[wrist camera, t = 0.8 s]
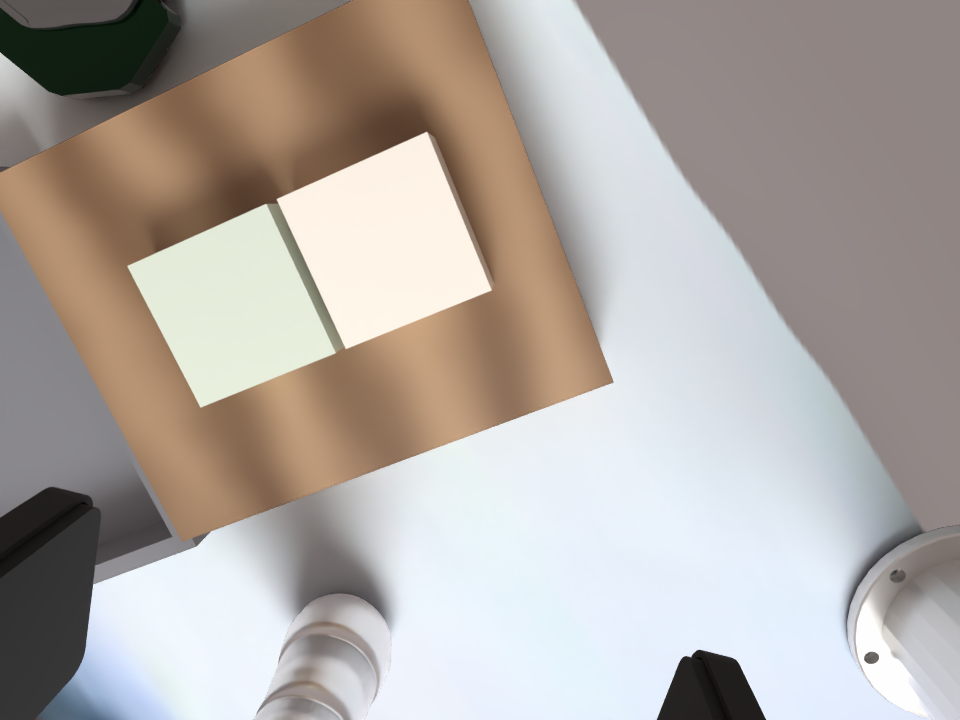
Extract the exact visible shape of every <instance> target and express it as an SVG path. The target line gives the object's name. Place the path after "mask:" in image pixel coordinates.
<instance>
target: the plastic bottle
mask: <svg viewBox="0 0 960 720" xmlns="http://www.w3.org/2000/svg"><path fill="white" fill-rule="evenodd" d="M391 648H392V643H391V634H390V631H389V628H388V626H387V624H386V621H385V620H384V618H383V617H382V616H381V614H380V613H379V612H378V611H377V609H376V608H374V607H373V606H372V605H371V604H370V603H368V602H367V601H365V600H364V599H362V598H359V597H357V596H354V595H350V594H330V595H325V596H322V597H319V598H317V599H315V600H313V601H312V602H310V603H309V604H308V605H307V606H306V607H305V608H304V609H303V610H302V611H301V612H300V613H299V614H298V615H297V617H296V618H295V619H294V620H293V622H292V623H291V625H290V626H289V628H288V631H287V634H286V636H285V639H284V643H283V646H282V649H281V652H280V657H279V663H278V667H277V669H276V672H275V674H274V677H273V680H272V682H271V685H270V687H269V690H268V692H267V695H266V697H265V700H264V701H263V703H262V705H261V707H260V708H259V710H258V712H257V714H256V716H255V717H254V719H253V720H365V718H366V716H367V713H368V711H369V708H370V706H371V704H372V702H373V701H374V699H375V698H376V696H377V695H378V693H379V691H380V689H381V687H382V685H383V683H384V681H385V679H386V676H387V674H388V672H389V669H390V663H391Z"/></svg>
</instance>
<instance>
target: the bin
mask: <svg viewBox="0 0 960 720" xmlns="http://www.w3.org/2000/svg"><path fill="white" fill-rule="evenodd" d="M9 168H11V167H0V172H2V171H4V170H7V169H9ZM48 487H57V488H61V489H65V490H69V491H73V492H77V493H81V494H85V495H89V496H90V497H91V498H92V501H93V507H97V508H98V509H100V512H101V522H100V530H99V539H98V547H97V555H96V564H95V572H94V580H93V584H96V583H98V582H101V581H104V580H107V579H109V578H112V577H115V576H117V575H120V574H123V573H126V572H128V571H131V570H134V569H136V568H139V567H142V566H145V565H147V564H150V563H153V562H156V561H158V560H161V559H164V558H166V557H169V556H172V555H175V554H177V553H180V552H183V551H186V550H188V549H191V548H194V547H196V546H197V545H198V544H199V543H200V542H201V541H202V540H203V539H204V538H205V537H206V536H207V535H208V534H209V533H210V532H211V531H210V532H207V533H205V534H202V535H199V536H197V537H194V538H191V539H188V540H186V541H183V542H182V541H181V539H180V537H179V535H178V533H177V531H176V530H175V528H174V526H173V524H172V522H171V521H170V519H169V517H168V515H167V513H166V511H165V510H164V508H163V506H162V504H161V502H160V500H159V499H158V497H157V495H156V493H155V491H154V490H153V488H152V486H151V484H150V482H149V480H148V479H147V477H146V475H145V473H144V471H143V470H142V468H141V466H140V464H139V462H138V460H137V459H136V457H135V455H134V453H133V451H132V449H131V448H130V446H129V444H128V442H127V440H126V439H125V437H124V435H123V433H122V431H121V429H120V428H119V426H118V424H117V422H116V420H115V419H114V417H113V415H112V413H111V411H110V409H109V408H108V406H107V404H106V402H105V400H104V398H103V397H102V395H101V393H100V391H99V389H98V388H97V386H96V384H95V382H94V380H93V378H92V377H91V375H90V373H89V371H88V369H87V368H86V366H85V364H84V362H83V360H82V358H81V357H80V355H79V353H78V351H77V349H76V347H75V346H74V344H73V342H72V340H71V338H70V337H69V335H68V333H67V331H66V329H65V327H64V326H63V324H62V322H61V320H60V318H59V317H58V315H57V313H56V311H55V309H54V307H53V306H52V304H51V302H50V300H49V298H48V296H47V295H46V293H45V291H44V289H43V287H42V286H41V284H40V282H39V280H38V278H37V276H36V275H35V273H34V271H33V269H32V267H31V266H30V264H29V262H28V260H27V258H26V256H25V255H24V253H23V251H22V249H21V247H20V245H19V244H18V242H17V240H16V238H15V236H14V235H13V233H12V231H11V229H10V227H9V225H8V224H7V222H6V220H5V218H4V216H3V215H2V213H1V211H0V517H2V516H3V515H5V514H6V513H8V512H10V511H11V510H13V509H14V508H16V507H17V506H19V505H20V504H22V503H24V502H25V501H27V500H28V499H30V498H31V497H33V496H35V495H36V494H38V493H39V492H41V491H42V490H44V489H46V488H48Z"/></svg>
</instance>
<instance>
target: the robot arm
mask: <svg viewBox="0 0 960 720" xmlns="http://www.w3.org/2000/svg"><path fill="white" fill-rule="evenodd" d="M100 522H101V512H100V509H98V508H97V507H93V501H92V498H91V497H90V496H89V495H85V494H81V493H77V492H73V491H69V490H65V489H61V488H57V487H48V488H46V489H44V490H42V491H41V492H39V493H38V494H36V495H35V496H33V497H31V498H30V499H28V500H27V501H25V502H24V503H22V504H20V505H19V506H17V507H16V508H14V509H13V510H11V511H10V512H8V513H6V514H5V515H3V516H2V517H0V720H34V719H35V718H36V717H37V716H38V715H39V714H40V713H41V712H42V711H43V709H44V708H45V707H46V706H47V705H48V704H49V703H50V702H51V701H52V699H53V698H54V697H55V696H56V695H57V694H58V693H59V692H60V691H61V690H62V688H63V687H64V686H65V685H66V684H67V683H68V682H69V681H70V680H71V678H72V677H73V676H74V674H75V673H76V671H77V670H78V668H79V666H80V664H81V662H82V659H83V657H84V653H85V647H86V638H87V630H88V622H89V613H90V605H91V597H92V589H93V580H94V572H95V564H96V555H97V547H98V539H99V530H100ZM847 630H848V642H849V646H850V649H851V653H852V656H853V658H854V660H855V662H856V664H857V666H858V667H859V669H860V671H861V672H862V674H863V675H864V676H865V678H866V679H867V680H868V682H869V683H870V684H871V686H872V687H873V688H874V689H875V690H876V691H877V692H878V693H879V694H880V695H882V696H883V697H884V698H885V699H886V700H888V701H889V702H891V703H893V704H894V705H896V706H897V707H899V708H901V709H903V710H906V711H908V712H911V713H913V714H916V715H919V716H923V717H927V718H931V720H960V525H955V526H948V527H942V528H938V529H935V530H932V531H929V532H925V533H922V534H919V535H917V536H915V537H913V538H911V539H909V540H907V541H905V542H903V543H901V544H900V545H898V546H897V547H896V548H894V549H893V550H891V551H890V552H889V553H887V554H886V555H884V556H883V557H882V558H881V559H880V560H879V561H878V562H877V563H876V564H875V565H874V566H873V567H872V568H871V569H870V570H869V572H868V573H867V574H866V576H865V577H864V579H863V580H862V582H861V583H860V585H859V586H858V588H857V590H856V593H855V595H854V598H853V600H852V602H851V605H850V610H849V615H848V621H847ZM657 720H766V719H765V717H764V715H763V713H762V711H761V708H760V706H759V704H758V702H757V700H756V698H755V696H754V694H753V692H752V690H751V688H750V686H749V684H748V682H747V680H746V677H745V675H744V673H743V671H742V669H741V667H740V665H739V663H738V662H737V661H736V660H735V659H733V658H731V657H727V656H723V655H719V654H715V653H711V652H707V651H703V650H697V651H696V652H695V653H694V654H693V655H692V657H687V656H685V657H683V658H682V659H681V661H680V663H679V665H678V667H677V670H676V672H675V675H674V677H673V680H672V683H671V685H670V688H669V690H668V693H667V695H666V698H665V700H664V703H663V705H662V708H661V711H660V713H659V716H658V718H657Z"/></svg>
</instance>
